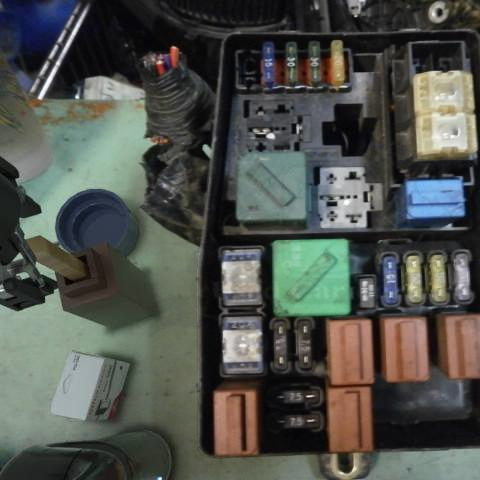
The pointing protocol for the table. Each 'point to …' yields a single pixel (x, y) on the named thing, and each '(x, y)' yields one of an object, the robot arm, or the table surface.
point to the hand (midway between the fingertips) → (40, 250)
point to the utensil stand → (106, 289)
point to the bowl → (96, 222)
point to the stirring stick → (58, 259)
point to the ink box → (89, 387)
